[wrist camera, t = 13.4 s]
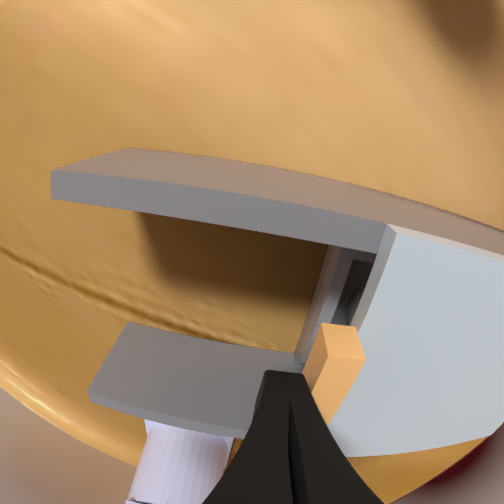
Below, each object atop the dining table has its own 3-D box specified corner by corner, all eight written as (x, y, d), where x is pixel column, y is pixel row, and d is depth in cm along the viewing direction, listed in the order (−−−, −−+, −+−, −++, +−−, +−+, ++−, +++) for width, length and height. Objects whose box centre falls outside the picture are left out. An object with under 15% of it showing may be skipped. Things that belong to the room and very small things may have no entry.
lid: (487, 427, 14) (496, 447, 12) (268, 442, 13) (267, 474, 11) (582, 282, 9) (601, 300, 7) (350, 215, 8) (371, 241, 7)
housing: (459, 371, 19) (488, 426, 14) (129, 332, 19) (91, 401, 13) (527, 240, 14) (583, 283, 9) (127, 148, 14) (51, 170, 8)
